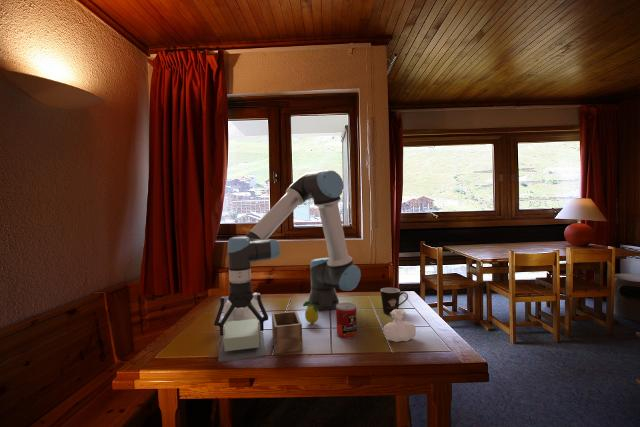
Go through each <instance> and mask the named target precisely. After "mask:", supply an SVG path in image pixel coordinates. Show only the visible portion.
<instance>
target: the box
mask: <svg viewBox="0 0 640 427" xmlns="http://www.w3.org/2000/svg"><path fill="white" fill-rule="evenodd" d="M271 322H272V323H271V325H272V327H271V328H272V330H271V332H272V341H273V347H274V353H275V354H284V353H290V352H291V353H292V352H300V351H303V347H304V346H303V324H302V322H301V319H300V317H299V315H298V313H297V311H296V310H295V311H293V310H292V311H285V312H283V311H282V312H275V313H274V312H273V313H271Z"/></svg>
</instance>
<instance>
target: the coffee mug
mask: <svg viewBox="0 0 640 427" xmlns="http://www.w3.org/2000/svg"><path fill="white" fill-rule="evenodd" d="M403 294H405V295H406V298H405V299H403V301H402V302H400V297H401V296H402V295H403ZM408 298H409V295H408V293H407V292H404V291H403V292H401V290H400V289H399V288H396V287H383V288H380V299H381V304H382V311H383V313H384V314H385V315H388V316H389V315H390V312H392V311H393V310H394V309H398V310H399V307H400V306H401V305H402V304H404V303H405V302H406V301H407V300H408ZM390 316H391V315H390Z"/></svg>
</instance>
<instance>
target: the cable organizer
mask: <svg viewBox="0 0 640 427" xmlns="http://www.w3.org/2000/svg"><path fill="white" fill-rule="evenodd" d="M258 293H259V292H253V294H258ZM251 303H252V305H253V306H254V307H255V309H256V310H257V311H258V312H259V314H260V315H261V309H260V307H259V304H258V301H257V300H255V298H253V299H252V300H251ZM231 304H232V303H231V302H230V301H229V300H227V302H226V303H224V307H223V310H222V311H223V317H224V316H225V314H226V312H227V311H228V309H229V308H230V306H231ZM249 319H257V318H256V316H255V315H254V314H253V313H252V311H251V310H250V309H249V308H248V307H245V308H243V307H240V308H236V307H235V308H234V310H233V311H232V312H231V314H230V316H229V317H228V319H227V320H226V322H225V324H226V325H227V322H229V321H239V320H249Z"/></svg>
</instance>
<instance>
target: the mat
mask: <svg viewBox="0 0 640 427" xmlns="http://www.w3.org/2000/svg"><path fill="white" fill-rule="evenodd" d="M260 332H261V342H259V347H257V348H249V349H241V350H232V351H224V337H223V336H222V339H221V344H220V349H219V354H218V359H217V362H218V363H221V362H228V361H229V362H230V361H236V360H237V361H238V360H239V361H240V360H247V359H252V358H254V359H255V358H262V357H266V348H265V338H264V331H260Z"/></svg>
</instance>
